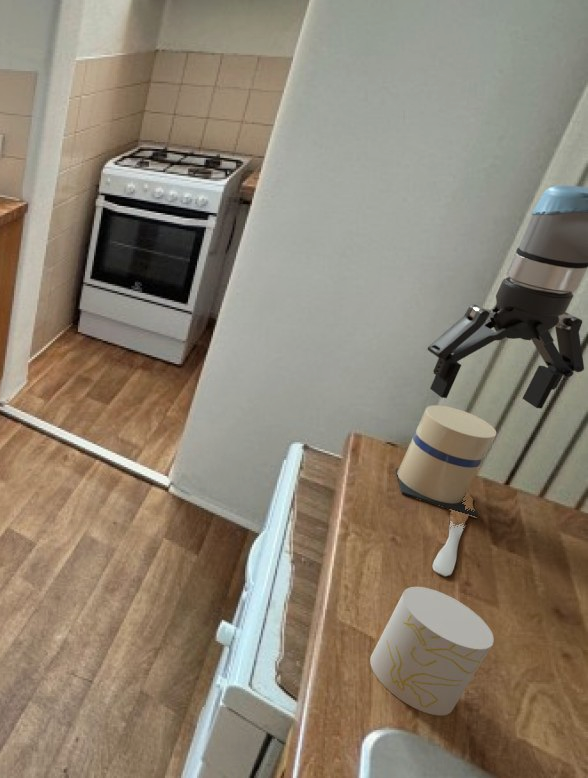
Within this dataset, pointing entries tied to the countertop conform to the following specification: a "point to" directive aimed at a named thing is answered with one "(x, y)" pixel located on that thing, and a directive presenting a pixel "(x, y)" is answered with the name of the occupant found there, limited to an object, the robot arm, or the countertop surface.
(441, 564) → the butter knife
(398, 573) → the countertop surface
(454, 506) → the mat
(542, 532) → the countertop surface
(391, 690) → the cup
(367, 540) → the countertop surface
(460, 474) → the blue-striped cream cylinder
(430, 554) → the countertop surface
